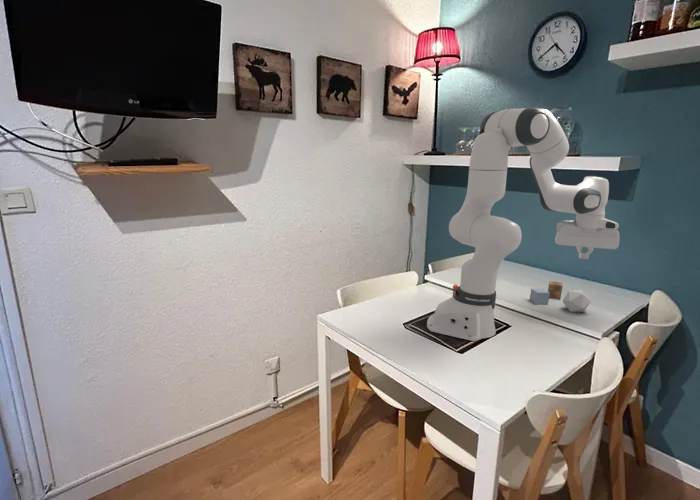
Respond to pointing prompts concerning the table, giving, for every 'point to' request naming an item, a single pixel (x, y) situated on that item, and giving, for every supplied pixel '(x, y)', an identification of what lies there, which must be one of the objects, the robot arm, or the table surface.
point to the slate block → (539, 296)
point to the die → (576, 301)
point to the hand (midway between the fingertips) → (583, 258)
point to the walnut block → (555, 289)
